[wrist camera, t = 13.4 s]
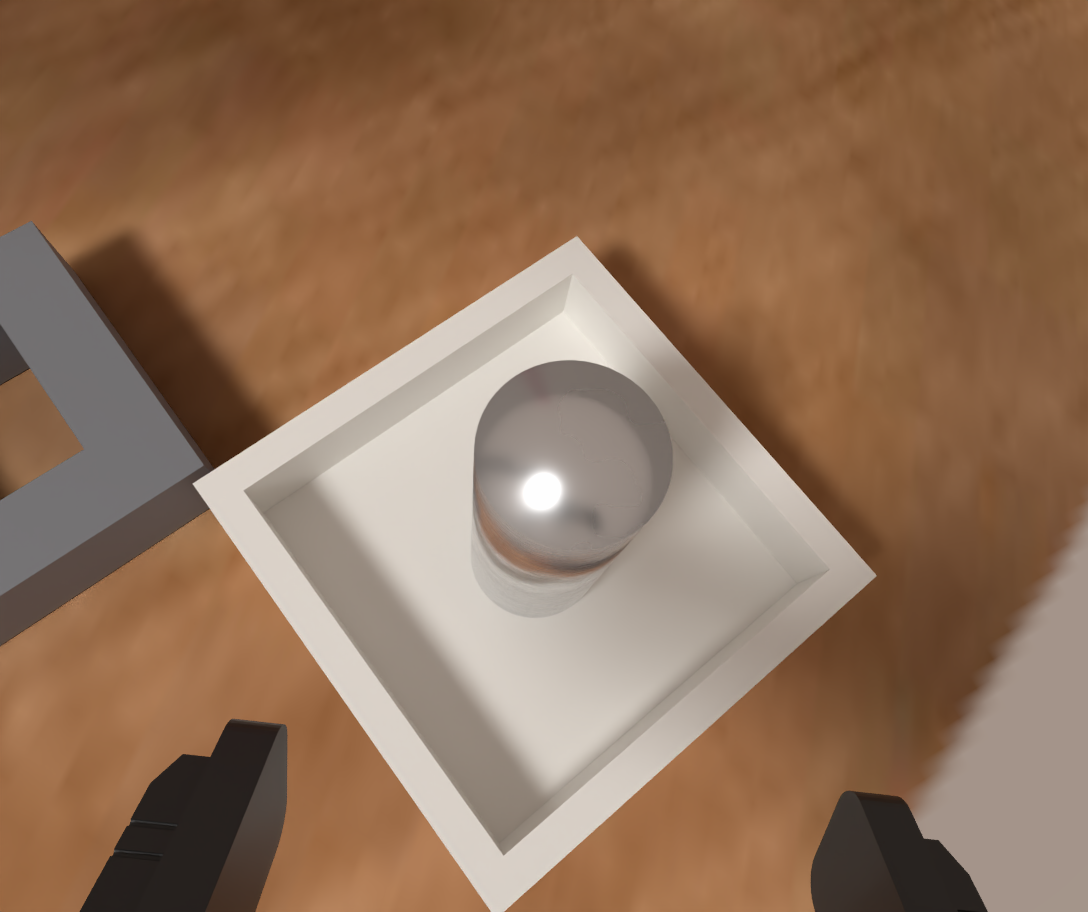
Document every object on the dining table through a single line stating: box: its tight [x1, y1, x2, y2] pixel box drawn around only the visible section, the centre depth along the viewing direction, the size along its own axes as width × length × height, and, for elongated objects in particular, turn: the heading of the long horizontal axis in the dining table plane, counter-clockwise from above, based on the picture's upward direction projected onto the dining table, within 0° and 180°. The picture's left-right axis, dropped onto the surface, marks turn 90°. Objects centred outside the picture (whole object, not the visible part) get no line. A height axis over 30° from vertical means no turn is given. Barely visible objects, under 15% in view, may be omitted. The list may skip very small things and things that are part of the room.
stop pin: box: [471, 360, 673, 618], centre depth 21 cm, size 4×4×10 cm
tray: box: [193, 236, 877, 912], centre depth 25 cm, size 14×14×4 cm
